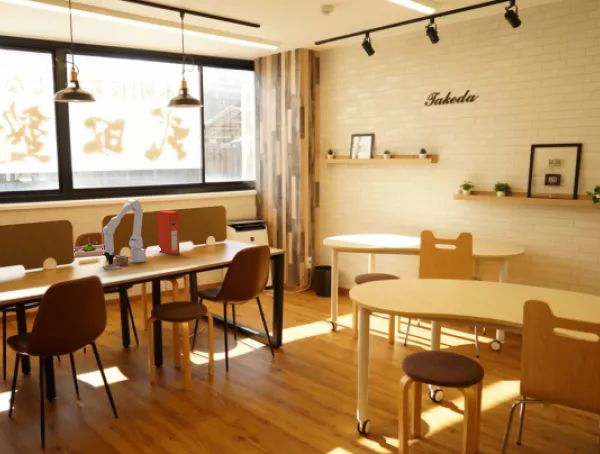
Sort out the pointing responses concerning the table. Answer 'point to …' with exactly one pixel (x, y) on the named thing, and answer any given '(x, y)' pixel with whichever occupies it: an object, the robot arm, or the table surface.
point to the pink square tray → (88, 252)
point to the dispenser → (122, 260)
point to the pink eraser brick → (113, 262)
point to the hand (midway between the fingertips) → (109, 263)
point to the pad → (111, 267)
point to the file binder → (168, 231)
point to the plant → (90, 248)
